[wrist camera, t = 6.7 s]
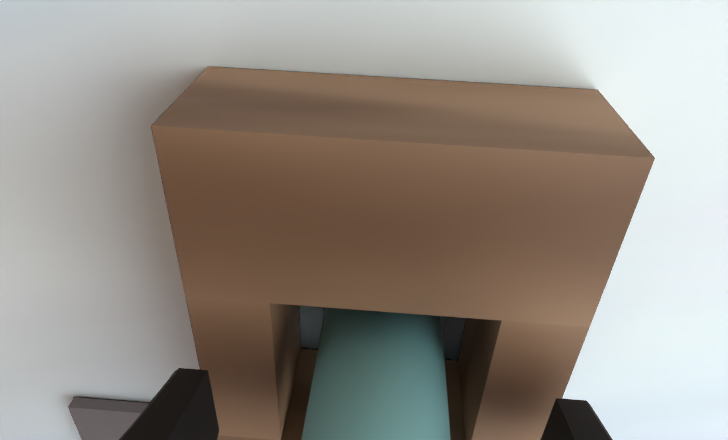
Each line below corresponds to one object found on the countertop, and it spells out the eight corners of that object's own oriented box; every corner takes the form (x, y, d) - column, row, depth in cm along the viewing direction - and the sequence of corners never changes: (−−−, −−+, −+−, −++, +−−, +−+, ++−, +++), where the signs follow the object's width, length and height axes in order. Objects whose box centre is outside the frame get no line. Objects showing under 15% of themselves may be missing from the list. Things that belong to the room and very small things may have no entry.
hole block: (494, 440, 18) (508, 536, 15) (253, 420, 18) (229, 511, 15) (597, 89, 11) (654, 157, 8) (208, 66, 11) (150, 125, 9)
